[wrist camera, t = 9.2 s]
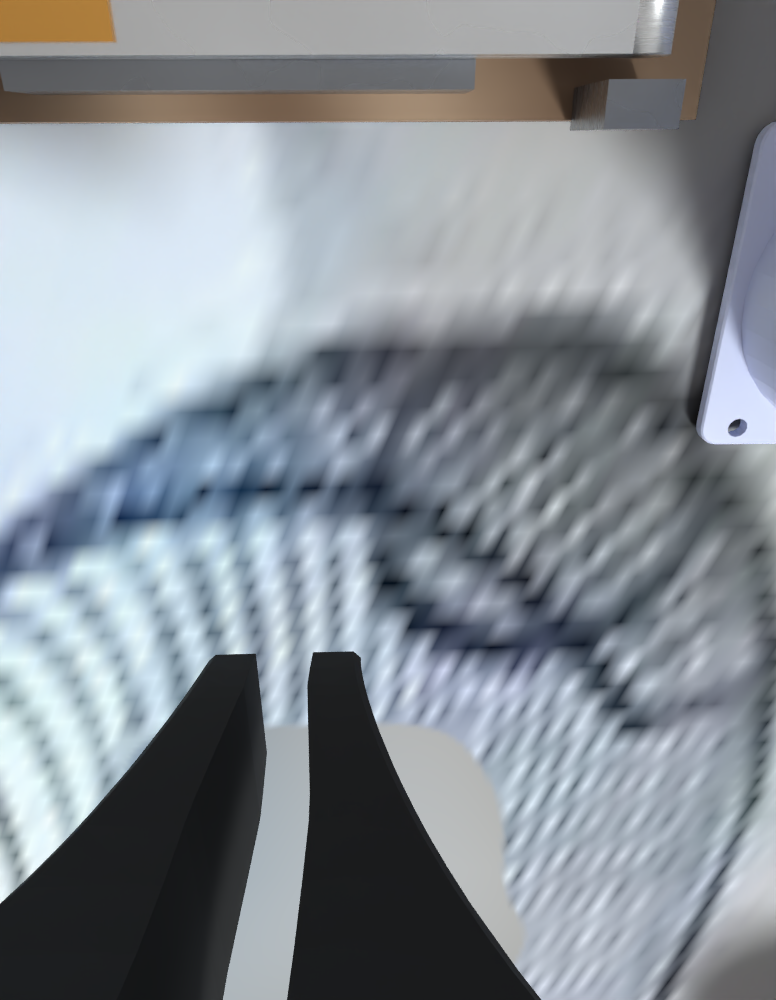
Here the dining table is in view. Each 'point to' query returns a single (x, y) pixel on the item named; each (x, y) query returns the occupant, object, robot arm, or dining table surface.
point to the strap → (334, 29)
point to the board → (496, 98)
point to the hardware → (335, 83)
